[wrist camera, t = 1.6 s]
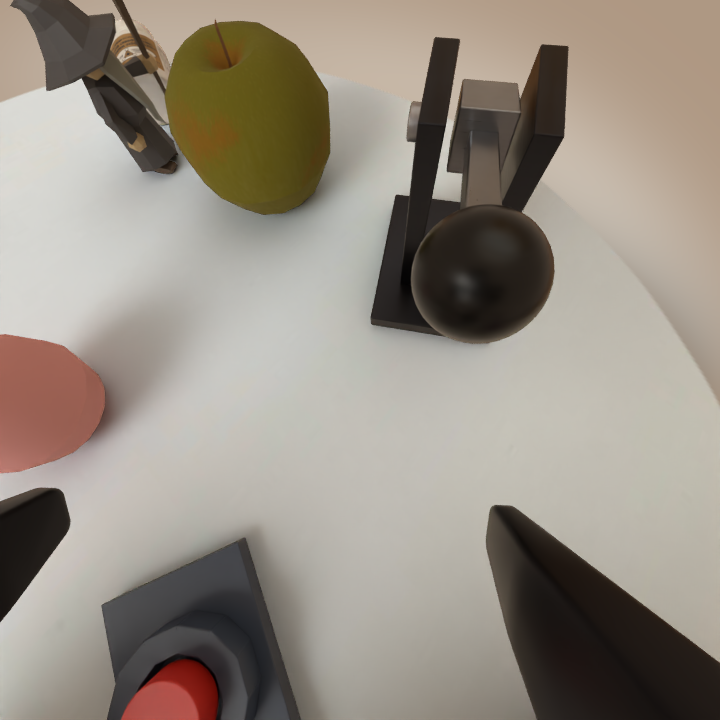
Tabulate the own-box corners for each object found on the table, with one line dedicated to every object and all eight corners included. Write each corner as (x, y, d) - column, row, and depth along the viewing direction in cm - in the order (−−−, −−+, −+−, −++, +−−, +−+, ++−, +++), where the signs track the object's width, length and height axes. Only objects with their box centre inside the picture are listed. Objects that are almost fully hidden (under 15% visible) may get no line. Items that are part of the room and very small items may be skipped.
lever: (523, 379, 10) (598, 283, 7) (396, 357, 10) (412, 257, 7) (509, 161, 16) (542, 65, 13) (432, 153, 17) (449, 58, 14)
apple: (355, 152, 28) (340, -31, 18) (313, 252, 26) (266, 108, 15) (245, 128, 30) (171, -55, 19) (195, 220, 27) (79, 68, 17)
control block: (312, 757, 18) (299, 815, 15) (163, 834, 17) (118, 910, 14) (245, 537, 21) (223, 549, 18) (116, 597, 20) (72, 619, 17)
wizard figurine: (192, 187, 28) (61, -4, 16) (125, 194, 28) (-51, 9, 17) (199, 110, 30) (88, -105, 19) (137, 117, 30) (-10, -91, 19)
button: (228, 731, 16) (210, 763, 14) (154, 768, 16) (127, 805, 14) (206, 644, 17) (187, 665, 15) (136, 678, 17) (109, 703, 15)
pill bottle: (107, 80, 26) (89, 18, 28) (144, 134, 30) (126, 76, 32) (164, 62, 26) (142, 2, 28) (192, 117, 30) (172, 62, 33)
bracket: (488, 344, 23) (611, 211, 11) (370, 324, 24) (360, 181, 12) (501, 218, 26) (612, -3, 13) (395, 205, 27) (407, -14, 14)
